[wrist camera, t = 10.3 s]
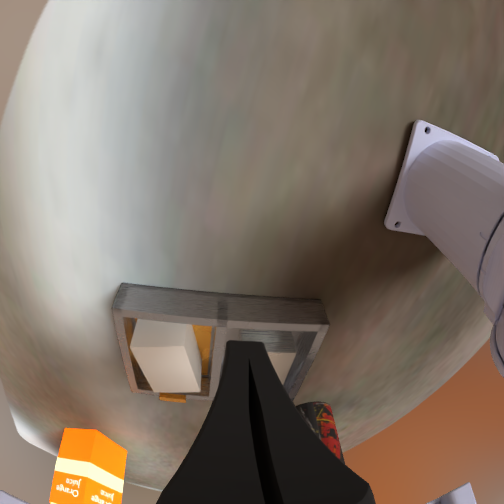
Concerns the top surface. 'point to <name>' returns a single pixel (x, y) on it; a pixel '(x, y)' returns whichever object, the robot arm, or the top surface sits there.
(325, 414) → the deodorant
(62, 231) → the top surface
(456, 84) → the top surface
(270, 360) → the robot arm
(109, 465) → the orange juice
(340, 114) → the top surface
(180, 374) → the off-white upright block
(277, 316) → the rack
